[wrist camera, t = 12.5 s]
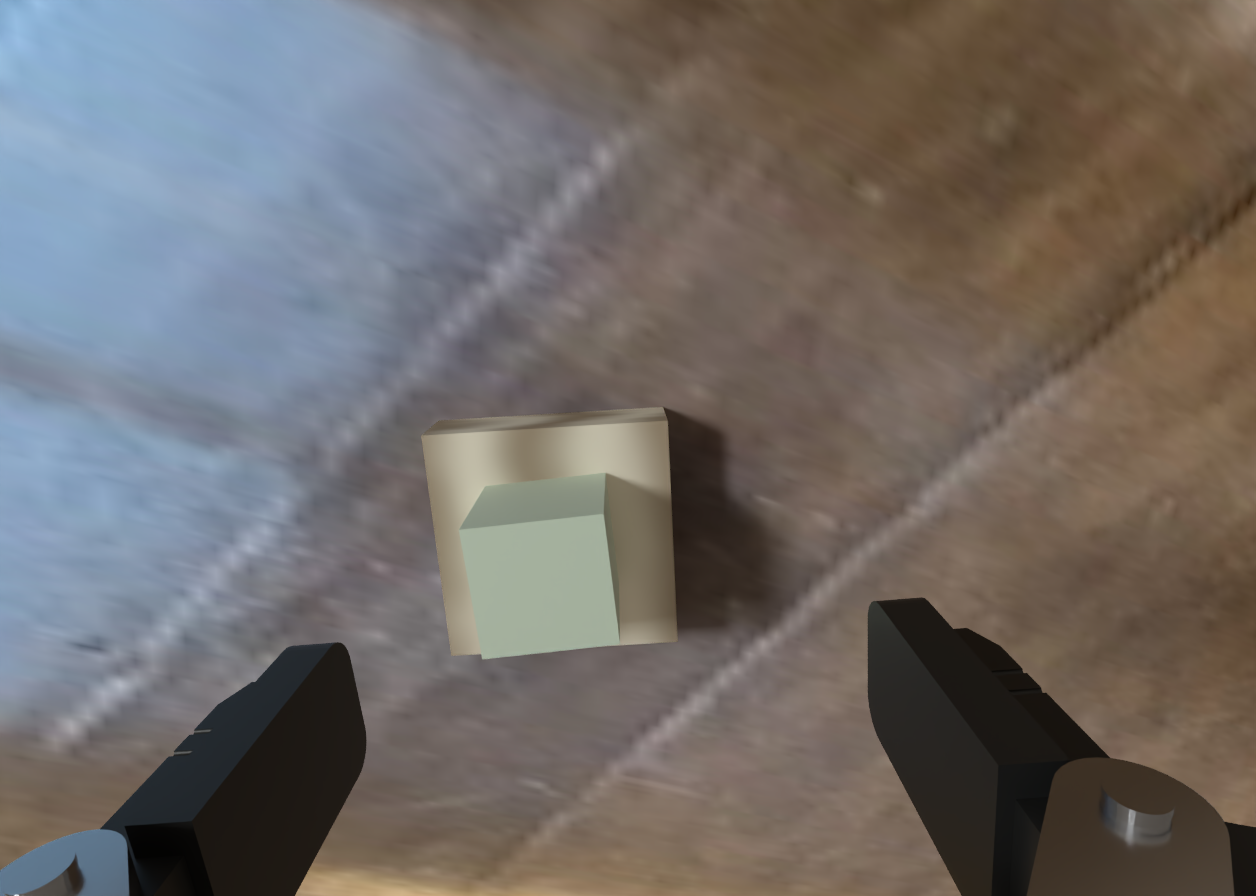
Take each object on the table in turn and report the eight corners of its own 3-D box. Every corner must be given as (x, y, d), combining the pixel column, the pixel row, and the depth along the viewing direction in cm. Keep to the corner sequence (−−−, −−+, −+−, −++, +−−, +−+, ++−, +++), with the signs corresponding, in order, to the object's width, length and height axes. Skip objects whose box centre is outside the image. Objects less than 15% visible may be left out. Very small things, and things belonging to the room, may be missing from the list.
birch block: (662, 405, 37) (667, 420, 33) (671, 605, 40) (677, 641, 36) (441, 418, 37) (421, 435, 33) (467, 618, 40) (451, 655, 36)
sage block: (605, 472, 34) (603, 513, 28) (619, 583, 35) (620, 644, 30) (485, 485, 34) (458, 529, 28) (504, 596, 35) (482, 659, 30)
